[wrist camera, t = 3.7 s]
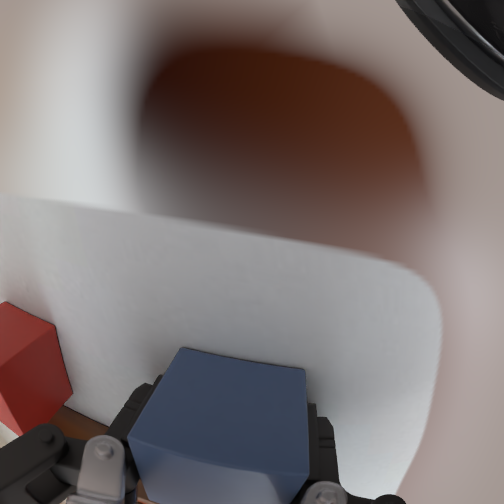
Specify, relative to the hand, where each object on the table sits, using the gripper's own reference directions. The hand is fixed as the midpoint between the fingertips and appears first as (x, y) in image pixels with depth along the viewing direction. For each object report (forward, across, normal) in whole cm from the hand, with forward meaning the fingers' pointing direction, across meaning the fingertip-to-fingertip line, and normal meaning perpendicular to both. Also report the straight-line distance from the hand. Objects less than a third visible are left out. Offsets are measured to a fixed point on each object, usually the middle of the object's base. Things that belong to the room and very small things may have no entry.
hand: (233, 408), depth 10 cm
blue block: (0, 0, 0) cm, 0 cm away
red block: (0, +11, +1) cm, 11 cm away
